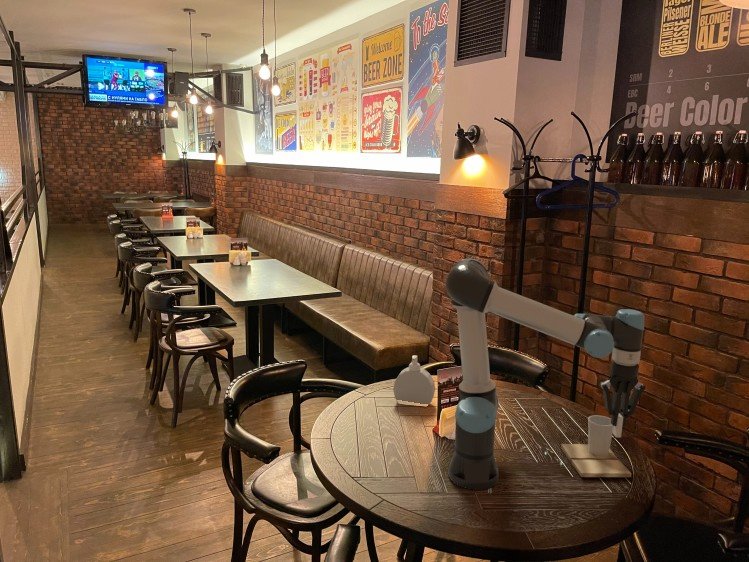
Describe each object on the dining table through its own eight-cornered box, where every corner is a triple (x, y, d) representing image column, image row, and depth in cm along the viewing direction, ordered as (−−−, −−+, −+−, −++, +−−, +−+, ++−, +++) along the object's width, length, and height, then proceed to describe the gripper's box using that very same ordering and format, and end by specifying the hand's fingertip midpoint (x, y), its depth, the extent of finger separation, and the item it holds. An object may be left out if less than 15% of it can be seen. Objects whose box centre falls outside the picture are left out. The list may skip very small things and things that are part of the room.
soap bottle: (392, 404, 222) (393, 356, 218) (395, 399, 227) (396, 352, 223) (432, 409, 218) (433, 360, 214) (435, 403, 223) (436, 355, 219)
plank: (581, 476, 169) (581, 473, 169) (571, 463, 178) (571, 459, 178) (631, 477, 169) (631, 473, 169) (618, 463, 178) (618, 459, 178)
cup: (613, 461, 178) (617, 426, 176) (587, 459, 180) (591, 424, 178) (607, 450, 186) (611, 416, 184) (582, 447, 187) (585, 414, 185)
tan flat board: (570, 461, 179) (570, 458, 178) (561, 447, 188) (561, 444, 188) (617, 462, 178) (617, 458, 178) (606, 447, 188) (606, 444, 187)
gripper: (608, 365, 161) (599, 440, 166) (653, 366, 161) (643, 441, 166) (598, 356, 169) (590, 428, 174) (641, 357, 169) (632, 429, 174)
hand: (616, 435), depth 170 cm, fingers closed
